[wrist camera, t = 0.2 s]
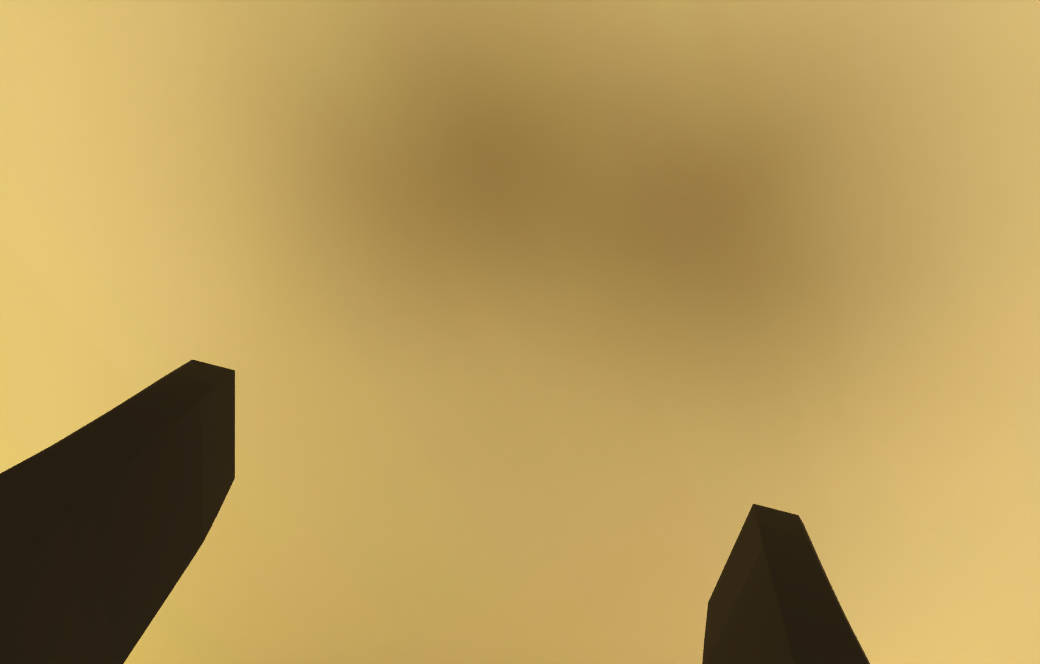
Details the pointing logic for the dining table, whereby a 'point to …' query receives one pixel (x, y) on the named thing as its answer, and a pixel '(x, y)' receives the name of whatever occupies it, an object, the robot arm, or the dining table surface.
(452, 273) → the dining table surface
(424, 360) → the dining table surface
